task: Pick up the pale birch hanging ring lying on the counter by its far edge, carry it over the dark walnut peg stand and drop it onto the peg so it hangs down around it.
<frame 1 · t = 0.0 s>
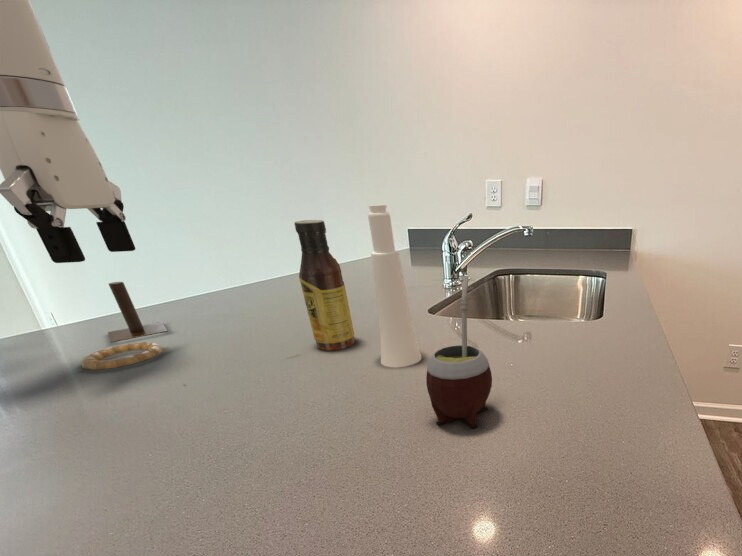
hand: (98, 256, 54), 17 cm above the countertop, tool pointing down, fingers open, 9 cm apart
mate gourd: (463, 417, 47), on the countertop
peg stand: (139, 336, 76), on the countertop
ring: (124, 356, 64), point 1 cm above the countertop
cosmetic bottle: (401, 362, 62), on the countertop
sauce bottle: (337, 347, 69), on the countertop
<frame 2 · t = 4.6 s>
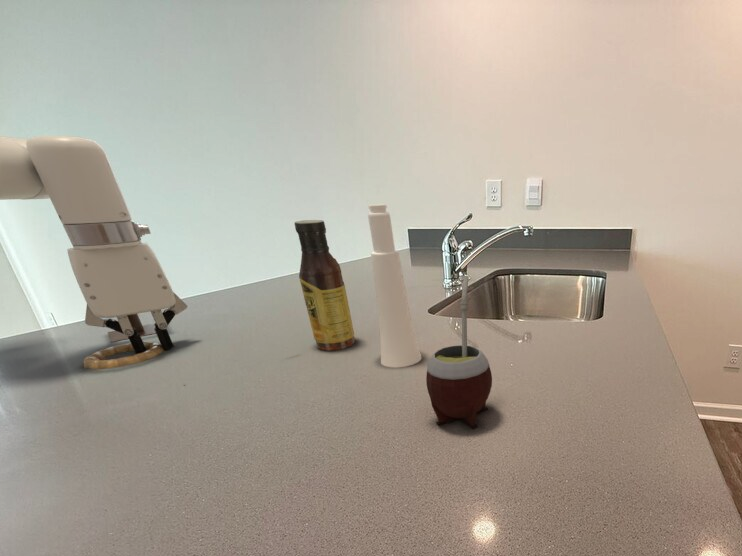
hand: (156, 353, 67), 0 cm above the countertop, tool pointing down, fingers closed on ring, 2 cm apart
ring: (125, 356, 64), point 1 cm above the countertop, touching gripper
everything else where it was.
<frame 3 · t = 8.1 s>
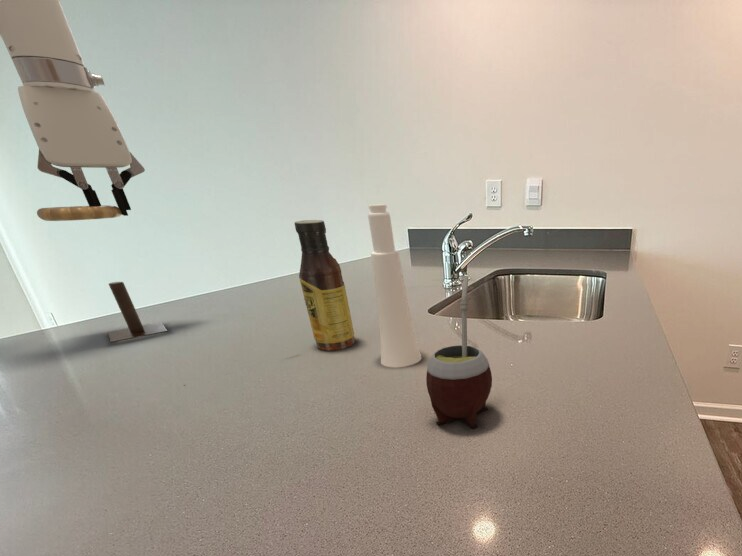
hand: (113, 214, 67), 21 cm above the countertop, tool pointing down, fingers closed on ring
ring: (81, 212, 65), point 22 cm above the countertop, touching gripper
everything else where it was.
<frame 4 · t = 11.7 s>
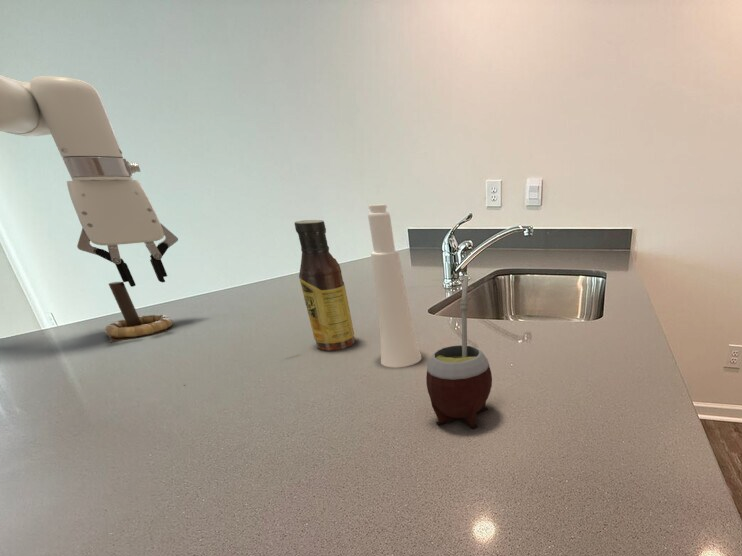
hand: (147, 282, 75), 9 cm above the countertop, tool pointing down, fingers open, 3 cm apart
ring: (139, 325, 76), point 2 cm above the countertop, touching peg stand
everything else where it was.
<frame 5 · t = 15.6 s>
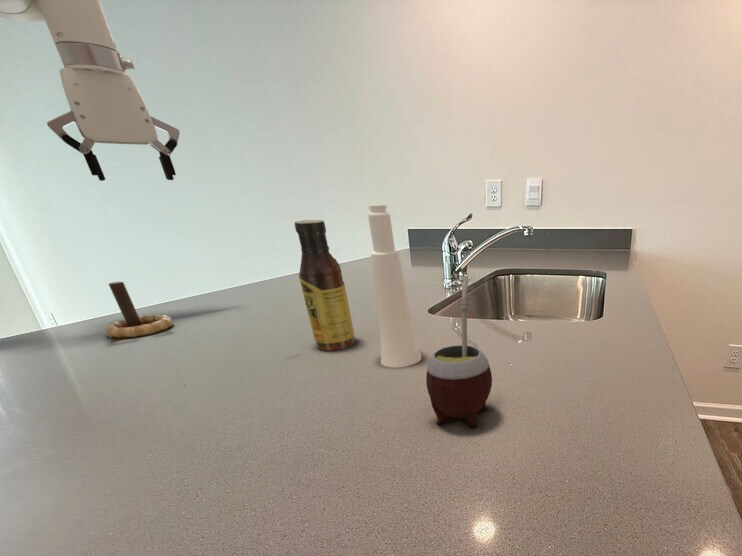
hand: (137, 180, 74), 26 cm above the countertop, tool pointing down, fingers open, 9 cm apart
nothing on the countertop moved.
at the end: ring 0.7 cm from the peg stand (horizontally); ring point 1.9 cm above the countertop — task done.
